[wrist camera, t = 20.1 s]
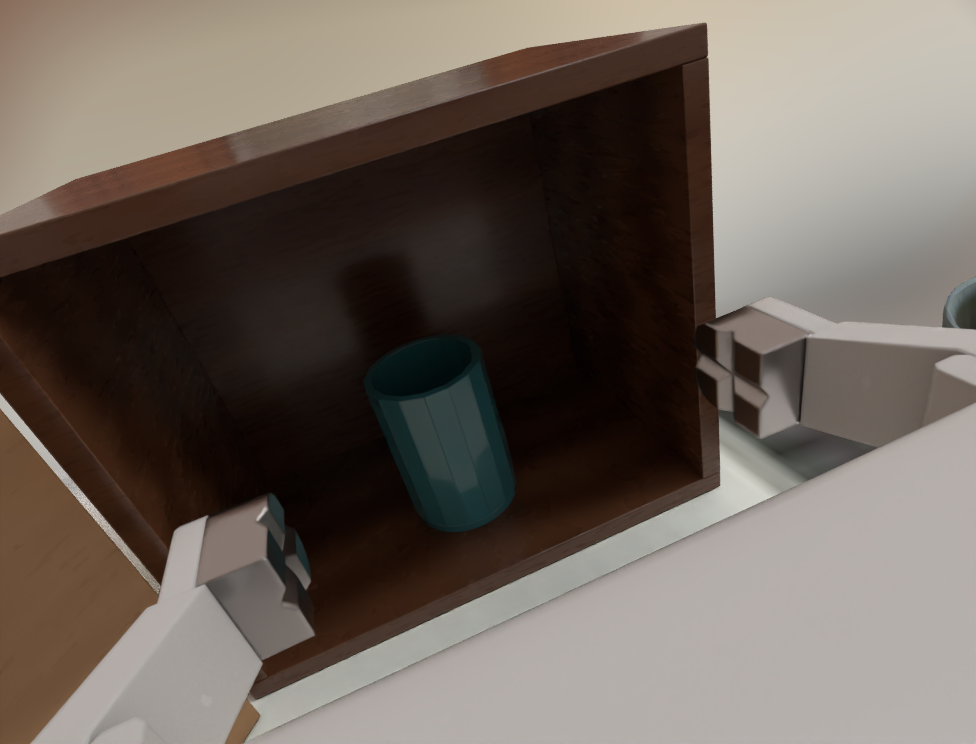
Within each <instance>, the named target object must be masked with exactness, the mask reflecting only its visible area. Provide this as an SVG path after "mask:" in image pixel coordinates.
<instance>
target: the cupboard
mask: <svg viewBox="0 0 976 744" xmlns="http://www.w3.org/2000/svg"><path fill="white" fill-rule="evenodd" d="M707 41H708V40H707V24H706V23H699V24H692V25H685V26H678V27H670V28H664V29H656V30H649V31H642V32H635V33H629V34H622V35H615V36H607V37H601V38H593V39H586V40H579V41H572V42H565V43H558V44H552V45H545V46H537V47H530V48H526V49H522V50H518V51H515V52H512V53H508V54H505V55H501V56H498V57H494V58H491V59H488V60H484V61H481V62H477V63H474V64H471V65H467V66H464V67H460V68H457V69H453V70H450V71H446V72H443V73H439V74H436V75H433V76H429V77H426V78H422V79H419V80H416V81H412V82H408V83H405V84H402V85H398V86H395V87H391V88H388V89H384V90H381V91H378V92H374V93H371V94H368V95H364V96H360V97H357V98H354V99H350V100H347V101H343V102H340V103H336V104H333V105H329V106H326V107H323V108H319V109H316V110H312V111H309V112H305V113H302V114H299V115H295V116H292V117H288V118H285V119H281V120H278V121H274V122H271V123H268V124H264V125H261V126H257V127H254V128H250V129H247V130H243V131H240V132H237V133H233V134H230V135H226V136H223V137H220V138H216V139H213V140H209V141H206V142H202V143H199V144H195V145H192V146H189V147H185V148H182V149H178V150H175V151H171V152H168V153H165V154H161V155H158V156H154V157H151V158H147V159H144V160H140V161H137V162H134V163H130V164H127V165H123V166H120V167H116V168H113V169H110V170H106V171H103V172H100V173H96V174H92V175H89V176H85V177H82V178H79V179H75V180H73V181H71V182H69V183H67V184H65V185H63V186H61V187H58V188H56V189H55V190H52V191H50V192H48V193H46V194H44V195H42V196H40V197H38V198H36V199H34V200H31V201H29V202H27V203H25V204H23V205H21V206H19V207H17V208H15V209H13V210H11V211H8V212H6V213H5V214H2V215H0V393H1V395H2V396H3V397H4V398H5V400H6V401H7V402H8V403H9V404H10V406H11V407H12V408H13V409H14V411H15V412H16V413H17V414H18V415H19V417H20V418H21V419H22V420H23V421H24V422H25V424H26V425H27V426H28V427H29V428H30V430H31V431H32V432H33V433H34V435H35V436H36V437H37V438H38V439H39V440H40V442H41V443H42V444H43V445H44V446H45V448H46V449H47V450H48V451H49V452H50V454H51V455H52V456H53V457H54V458H55V460H56V461H57V462H58V463H59V464H60V466H61V467H62V468H63V469H64V470H65V472H66V473H67V474H68V475H69V476H70V478H71V479H72V480H73V481H74V482H75V484H76V485H77V486H78V487H79V488H80V490H81V491H82V492H83V493H84V494H85V496H86V497H87V498H88V499H89V500H90V502H91V503H92V504H93V505H94V506H95V508H96V509H97V510H98V511H99V512H100V514H101V515H102V516H103V517H104V518H105V520H106V521H107V522H108V523H109V524H110V526H111V527H112V528H113V529H114V530H115V532H116V533H117V534H118V535H119V536H120V538H121V539H122V540H123V541H124V542H125V544H126V545H127V546H128V547H129V548H130V550H131V551H132V552H133V553H134V554H135V556H136V557H137V558H138V559H139V560H140V562H141V563H142V564H143V565H144V566H145V568H146V569H147V570H148V571H149V572H150V574H151V575H152V576H153V577H154V578H155V580H156V581H157V582H158V583H159V584H160V586H161V584H162V579H163V575H164V571H165V567H166V562H167V558H168V554H169V549H170V545H171V541H172V537H173V533H174V531H175V530H176V529H177V528H178V527H179V526H182V525H184V524H187V523H189V522H192V521H194V520H197V519H199V518H202V517H204V516H210V515H211V514H213V513H215V512H218V511H221V510H224V509H226V508H229V507H232V506H234V505H237V504H240V503H243V502H245V501H248V500H251V499H253V498H256V497H259V496H261V495H264V494H267V493H270V492H271V493H272V494H274V495H275V496H276V497H277V499H278V501H279V502H280V504H281V506H282V507H283V509H284V522H285V525H287V526H289V527H292V528H294V529H295V530H296V532H297V534H298V535H299V537H300V539H301V541H302V544H303V546H304V548H305V551H306V554H307V558H308V562H309V566H310V573H311V583H310V584H309V586H308V588H307V589H306V591H307V593H308V595H309V597H310V598H311V600H312V602H313V613H314V628H315V636H313V637H311V638H309V639H307V640H304V641H302V642H300V643H298V644H296V645H294V646H292V647H290V648H287V649H285V650H283V651H281V652H279V653H277V654H275V655H273V656H271V657H268V658H266V659H264V660H262V663H263V664H262V666H261V668H260V670H259V673H258V675H257V677H256V679H255V681H254V683H253V685H252V687H251V689H250V691H249V692H250V693H251V695H252V696H253V697H254V698H255V699H259V698H261V697H263V696H265V695H267V694H269V693H272V692H274V691H276V690H278V689H280V688H282V687H285V686H287V685H289V684H291V683H293V682H295V681H298V680H300V679H302V678H304V677H306V676H308V675H311V674H313V673H315V672H317V671H319V670H321V669H324V668H326V667H328V666H330V665H332V664H334V663H337V662H339V661H341V660H343V659H345V658H347V657H350V656H352V655H354V654H356V653H358V652H360V651H363V650H365V649H367V648H369V647H371V646H373V645H376V644H378V643H380V642H382V641H384V640H386V639H389V638H391V637H393V636H395V635H397V634H400V633H402V632H404V631H406V630H408V629H410V628H413V627H415V626H417V625H419V624H421V623H423V622H426V621H428V620H430V619H432V618H434V617H436V616H439V615H441V614H443V613H445V612H447V611H449V610H452V609H454V608H456V607H458V606H460V605H462V604H465V603H467V602H469V601H471V600H473V599H475V598H478V597H480V596H482V595H484V594H486V593H488V592H491V591H493V590H495V589H497V588H499V587H501V586H504V585H506V584H508V583H510V582H512V581H514V580H517V579H519V578H521V577H523V576H525V575H527V574H530V573H532V572H534V571H536V570H538V569H540V568H543V567H545V566H547V565H549V564H551V563H554V562H556V561H558V560H560V559H562V558H564V557H567V556H569V555H571V554H573V553H575V552H577V551H580V550H582V549H584V548H586V547H588V546H590V545H593V544H595V543H597V542H599V541H601V540H603V539H606V538H608V537H610V536H612V535H614V534H616V533H619V532H621V531H623V530H625V529H627V528H629V527H632V526H634V525H636V524H638V523H640V522H642V521H645V520H647V519H649V518H651V517H653V516H655V515H658V514H660V513H662V512H664V511H666V510H668V509H671V508H673V507H675V506H677V505H679V504H681V503H684V502H686V501H688V500H690V499H692V498H694V497H697V496H699V495H701V494H703V493H705V492H707V491H710V490H712V489H714V488H716V487H718V486H720V451H719V416H718V409H717V408H716V407H715V406H713V405H712V404H711V403H709V402H708V400H707V399H706V398H705V397H704V395H703V394H702V392H701V390H700V388H699V385H698V383H697V379H696V367H695V366H696V364H697V362H698V360H699V358H700V356H701V354H702V353H701V352H700V351H699V350H698V349H697V348H696V347H695V344H694V334H695V331H696V328H697V326H699V325H702V324H704V323H706V322H709V321H711V320H714V319H716V311H715V277H714V241H713V207H712V206H713V205H712V169H711V138H710V137H711V135H710V134H711V133H710V100H709V64H708V58H707V56H708V42H707ZM441 334H448V335H461V336H464V337H467V338H470V339H473V340H474V341H475V342H476V344H477V345H478V346H479V347H480V349H481V352H482V355H483V359H484V362H485V366H486V369H487V373H488V377H489V380H490V384H491V387H492V391H493V394H494V398H495V402H496V405H497V409H498V412H499V416H500V419H501V423H502V426H503V430H504V434H505V437H506V441H507V444H508V448H509V451H510V455H511V459H512V462H513V466H514V469H515V476H516V481H517V487H516V492H515V495H514V498H513V500H512V501H511V503H510V505H509V506H508V507H507V508H506V510H505V511H504V512H503V513H502V514H500V515H499V516H498V517H497V518H495V519H494V520H492V521H491V522H489V523H487V524H485V525H483V526H481V527H478V528H476V529H472V530H469V531H463V532H444V531H439V530H436V529H434V528H431V527H430V526H428V525H427V524H425V523H424V522H423V521H422V520H421V518H420V517H419V515H418V513H417V512H416V509H415V507H414V505H413V502H412V500H411V498H410V495H409V493H408V491H407V488H406V486H405V483H404V481H403V479H402V476H401V474H400V472H399V469H398V467H397V465H396V462H395V460H394V457H393V455H392V453H391V450H390V448H389V446H388V443H387V441H386V439H385V436H384V434H383V431H382V429H381V427H380V424H379V422H378V420H377V417H376V415H375V413H374V410H373V408H372V405H371V403H370V401H369V398H368V396H367V394H366V391H365V387H364V384H363V381H364V378H365V376H366V374H367V371H368V369H369V368H370V367H371V366H372V365H373V364H374V363H375V362H376V361H377V360H378V359H379V358H380V357H382V356H383V355H385V354H387V353H388V352H390V351H392V350H393V349H395V348H397V347H398V346H400V345H403V344H406V343H408V342H411V341H414V340H417V339H420V338H424V337H429V336H435V335H441Z"/></svg>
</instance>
